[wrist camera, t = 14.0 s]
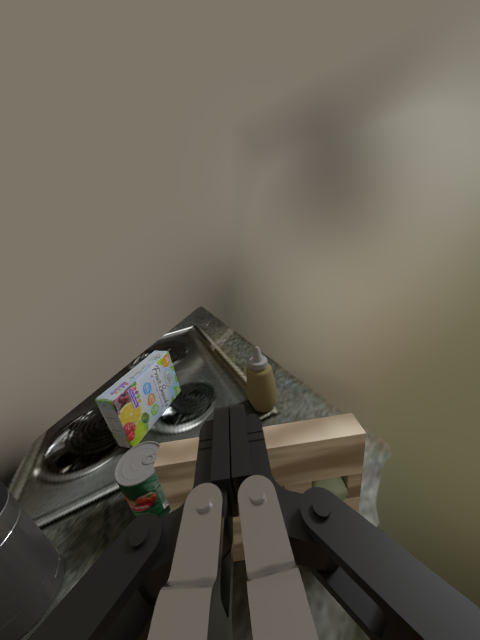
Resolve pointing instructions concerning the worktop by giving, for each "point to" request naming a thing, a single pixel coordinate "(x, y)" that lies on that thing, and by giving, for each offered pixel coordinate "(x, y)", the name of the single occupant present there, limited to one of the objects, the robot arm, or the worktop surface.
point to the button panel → (279, 461)
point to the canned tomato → (141, 480)
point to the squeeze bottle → (260, 383)
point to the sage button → (333, 486)
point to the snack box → (139, 398)
